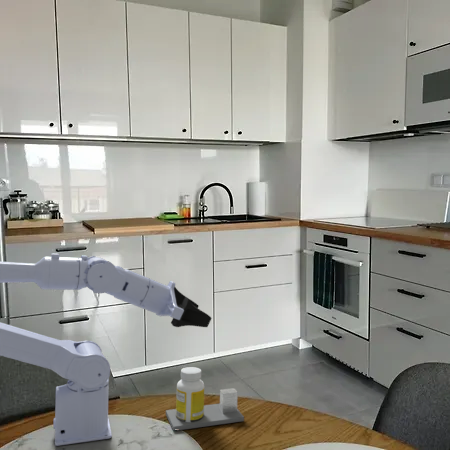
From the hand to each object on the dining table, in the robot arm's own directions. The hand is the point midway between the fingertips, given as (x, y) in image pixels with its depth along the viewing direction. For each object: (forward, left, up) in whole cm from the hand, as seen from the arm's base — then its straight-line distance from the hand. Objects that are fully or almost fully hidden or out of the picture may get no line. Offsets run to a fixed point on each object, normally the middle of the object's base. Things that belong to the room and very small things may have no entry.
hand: (202, 315), depth 91 cm
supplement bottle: (-3, -3, -20) cm, 20 cm away
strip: (0, -3, -20) cm, 20 cm away
